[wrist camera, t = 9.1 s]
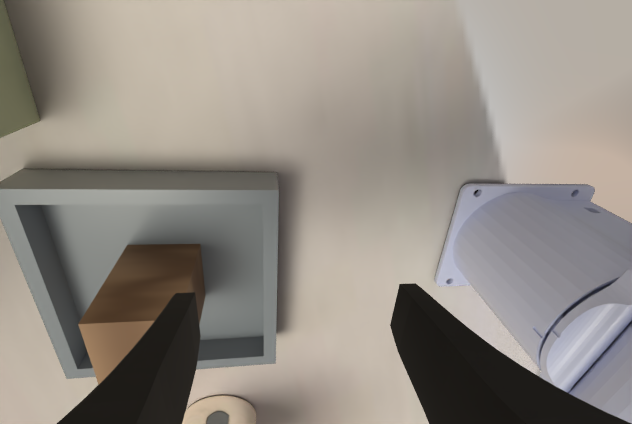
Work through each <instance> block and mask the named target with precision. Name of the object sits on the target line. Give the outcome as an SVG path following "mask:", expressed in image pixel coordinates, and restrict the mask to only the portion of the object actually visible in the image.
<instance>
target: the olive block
mask: <svg viewBox="0 0 632 424" xmlns="http://www.w3.org/2000/svg"><path fill="white" fill-rule="evenodd" d="M39 121H40V118H39V115H38V112H37V108H36V105H35V102H34V98H33V95H32V92H31V89H30V85H29V82H28V79H27V75H26V72H25V69H24V66H23V62H22V59H21V56H20V52H19V49H18V46H17V43H16V39H15V36H14V33H13V29H12V26H11V23H10V19H9V16H8V13H7V10H6V6H5V3H4V0H0V138H1V137H3V136H5V135H8V134H10V133H13V132H15V131H17V130H20V129H22V128H24V127H27V126H29V125H32V124H34V123H36V122H39Z"/></svg>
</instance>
